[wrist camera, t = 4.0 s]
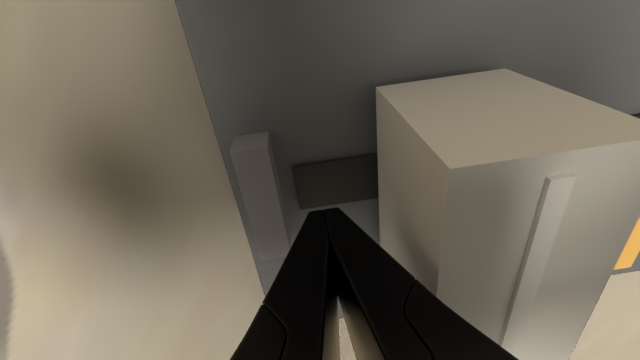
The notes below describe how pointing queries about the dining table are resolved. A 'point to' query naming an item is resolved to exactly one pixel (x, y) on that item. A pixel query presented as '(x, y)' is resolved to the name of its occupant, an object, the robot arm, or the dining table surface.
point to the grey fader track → (360, 89)
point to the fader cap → (507, 201)
